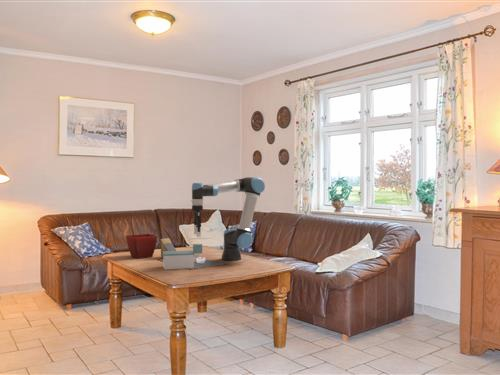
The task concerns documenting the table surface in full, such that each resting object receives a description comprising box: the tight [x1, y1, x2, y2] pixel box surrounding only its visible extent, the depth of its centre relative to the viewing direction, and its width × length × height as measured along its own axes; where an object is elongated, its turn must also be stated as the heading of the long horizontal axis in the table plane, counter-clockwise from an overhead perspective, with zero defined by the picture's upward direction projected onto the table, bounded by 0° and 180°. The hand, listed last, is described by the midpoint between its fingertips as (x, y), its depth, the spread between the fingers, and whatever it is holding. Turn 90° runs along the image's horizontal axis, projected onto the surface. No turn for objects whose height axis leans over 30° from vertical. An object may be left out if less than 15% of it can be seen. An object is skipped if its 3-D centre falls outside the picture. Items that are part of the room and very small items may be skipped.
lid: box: [163, 243, 203, 256], centre depth 309 cm, size 27×13×6 cm, turn 104°
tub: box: [162, 254, 195, 271], centre depth 308 cm, size 20×12×10 cm, turn 104°
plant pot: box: [125, 233, 158, 259], centre depth 353 cm, size 19×19×17 cm
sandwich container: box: [160, 237, 177, 259], centre depth 347 cm, size 9×15×15 cm, turn 49°
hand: (197, 235), depth 311 cm, fingers open, 13 cm apart
